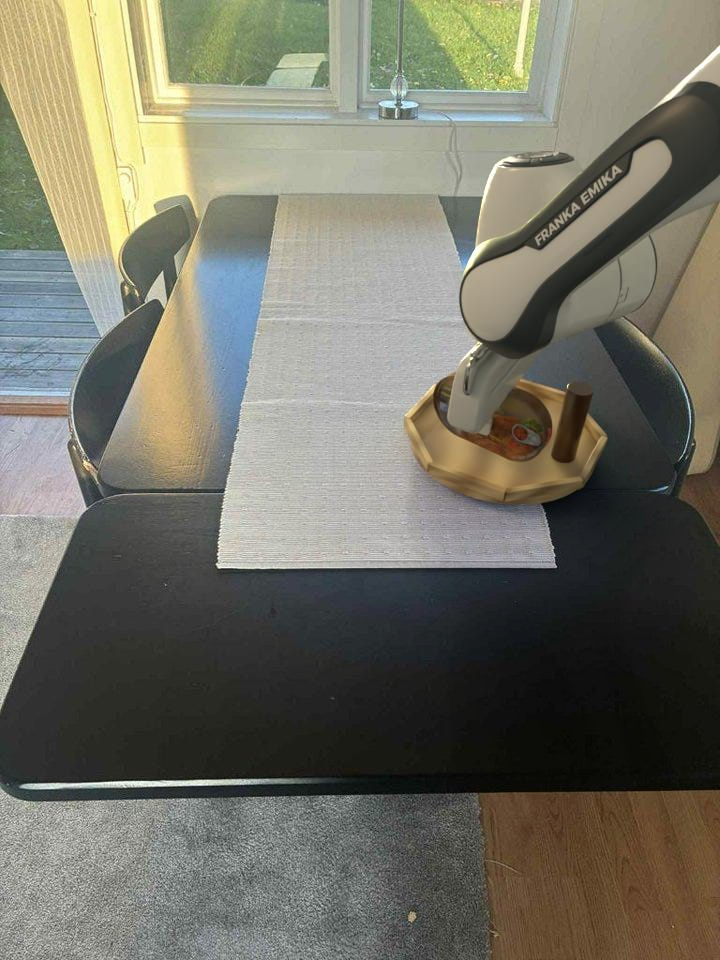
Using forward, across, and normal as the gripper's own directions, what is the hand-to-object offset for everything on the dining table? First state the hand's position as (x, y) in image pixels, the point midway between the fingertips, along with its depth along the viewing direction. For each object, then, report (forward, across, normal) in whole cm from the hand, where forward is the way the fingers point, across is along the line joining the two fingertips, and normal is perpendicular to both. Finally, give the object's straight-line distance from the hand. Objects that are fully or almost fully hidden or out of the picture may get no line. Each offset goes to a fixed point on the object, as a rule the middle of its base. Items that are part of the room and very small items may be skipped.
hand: (491, 422), depth 83 cm
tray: (+7, +6, 0) cm, 9 cm away
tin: (+3, 0, 0) cm, 3 cm away
